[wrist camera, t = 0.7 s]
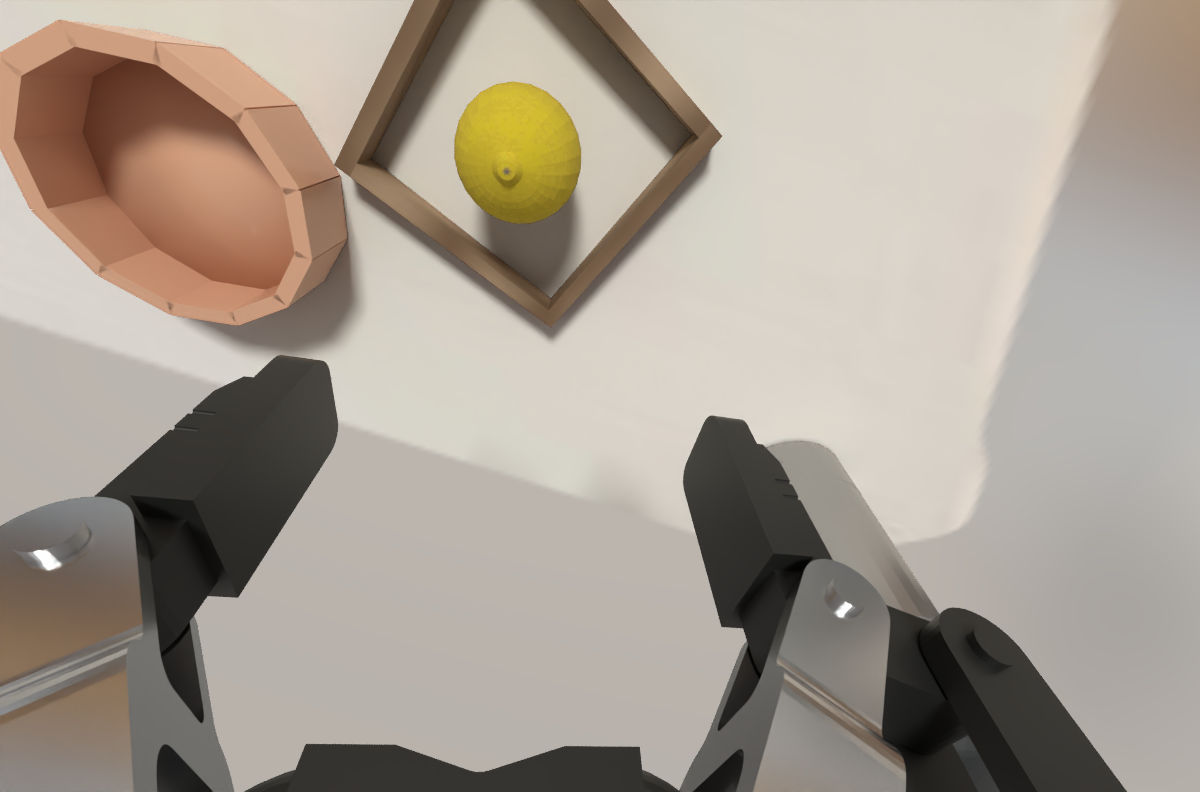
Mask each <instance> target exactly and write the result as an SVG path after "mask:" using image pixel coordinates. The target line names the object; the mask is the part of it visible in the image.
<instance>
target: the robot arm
mask: <svg viewBox="0 0 1200 792" xmlns="http://www.w3.org/2000/svg"><path fill="white" fill-rule="evenodd" d="M337 432H338V419H337V413H336V407H335V401H334V395H333V389H332V383H331V377H330V371H329V368H328V365H327V364H326V363H325V362H324V361H320V360H313V359H306V358H299V357H291V356H284V355H279V356H277V357H275V358H274V359H273V360H272V361H270V362H269V363H268V364H267V365H266V366H265V367H264V368H263V369H262V370H261V371H260V372H259V373H258V374H257V375H256V376H255V377H254V378H252V377H245V376H244V377H242V378H240V379H238V380H236V381H234V382H232V383H229V384H227V385H225V386H223V387H221V388H219V389H217V390H215V391H213V392H212V393H211V394H210V395H209V396H208V397H207V398H205V399H204V400H203V401H202V402H201V403H200V404H199V405H197V406H196V407H195V408H194V409H193V413H192V414H187V415H186V416H185V417H184V418H183V419H182V420H180V421H179V422H178V423H177V424H176V425H175V429H174V430H169V431H168V432H167V433H166V434H165V435H163V436H162V437H161V438H160V439H159V440H158V441H157V442H156V443H154V444H153V445H152V446H151V447H150V448H149V449H148V450H146V451H145V452H144V453H143V454H142V455H141V456H140V457H139V458H137V459H136V460H135V461H134V462H133V463H132V464H131V465H130V466H128V467H127V468H126V469H125V470H124V471H123V472H122V473H120V474H119V475H118V476H117V477H116V478H115V479H114V480H113V481H111V482H110V483H109V484H108V485H107V486H106V487H105V488H103V489H102V490H101V491H100V492H99V493H98V494H97V495H95V496H94V497H81V498H74V499H68V500H64V501H59V502H55V503H52V504H48V505H45V506H42V507H39V508H37V509H34V510H31V511H29V512H26V513H24V514H22V515H20V516H18V517H16V518H14V519H12V520H10V521H8V522H7V523H5V524H3V525H1V526H0V792H234V788H233V784H232V779H231V776H230V772H229V769H228V765H227V762H226V759H225V756H224V754H223V751H222V749H221V746H220V744H219V741H218V738H217V734H216V730H215V726H214V721H213V715H212V709H211V703H210V697H209V691H208V685H207V679H206V673H205V667H204V662H203V655H202V649H201V643H200V637H199V631H198V625H197V622H196V619H195V617H194V615H195V613H196V612H197V610H198V609H199V607H200V606H201V605H202V603H203V602H204V600H205V599H206V598H207V596H219V597H239V595H240V594H241V592H242V591H243V589H244V587H245V586H246V584H247V583H248V581H249V579H250V578H251V576H252V575H253V573H254V572H255V570H256V568H257V567H258V566H259V564H260V562H261V561H262V559H263V558H264V556H265V555H266V553H267V551H268V550H269V548H270V546H271V545H272V543H273V542H274V540H275V539H276V537H277V536H278V534H279V532H280V531H281V529H282V528H283V526H284V525H285V523H286V522H287V520H288V518H289V517H290V515H291V514H292V512H293V511H294V509H295V507H296V506H297V504H298V503H299V501H300V500H301V498H302V497H303V495H304V493H305V492H306V490H307V489H308V487H309V485H310V484H311V482H312V481H313V479H314V478H315V476H316V474H317V473H318V471H319V470H320V468H321V467H322V465H323V463H324V462H325V460H326V459H327V457H328V456H329V454H330V453H331V451H332V449H333V447H334V444H335V441H336V437H337ZM683 485H684V491H685V495H686V499H687V502H688V506H689V510H690V513H691V517H692V521H693V524H694V528H695V532H696V535H697V539H698V543H699V546H700V549H701V554H702V557H703V561H704V564H705V568H706V572H707V575H708V579H709V583H710V586H711V590H712V593H713V597H714V601H715V605H716V608H717V612H718V616H719V619H720V623H721V627H732V628H743V629H744V632H745V635H746V638H747V641H746V643H745V644H744V645H743V647H742V649H741V651H740V653H739V656H738V659H737V661H736V664H735V666H734V669H733V671H732V674H731V677H730V679H729V682H728V684H727V687H726V689H725V692H724V695H723V697H722V700H721V702H720V705H719V707H718V710H717V713H716V715H715V718H714V720H713V723H712V726H711V728H710V731H709V733H708V735H707V737H706V740H705V742H704V744H703V745H702V747H701V749H700V751H699V752H698V754H697V756H696V757H695V759H694V761H693V763H692V765H691V766H690V768H689V770H688V773H687V774H686V777H685V779H684V781H683V783H682V786H681V788H680V790H679V791H678V790H677V789H676V788H674V787H673V786H671V785H670V784H669V783H667V782H665V781H664V780H662V779H660V778H658V777H656V776H654V775H653V774H651V773H649V772H646V771H643V770H642V765H641V756H640V747H588V746H585V747H583V746H564V747H561V748H558V749H555V750H552V751H548V752H546V753H542V754H539V755H536V756H533V757H530V758H527V759H524V760H521V761H517V762H514V763H512V764H508V765H505V766H502V767H499V768H496V769H493V770H489V771H485V772H473V771H469V770H466V769H464V768H460V767H458V766H455V765H452V764H449V763H446V762H443V761H441V760H437V759H435V758H432V757H429V756H426V755H423V754H420V753H417V752H415V751H412V750H409V749H406V748H403V747H400V746H397V745H356V744H355V745H354V744H353V745H352V744H351V745H350V744H348V745H347V744H306V745H305V747H304V750H303V752H302V755H301V758H300V760H299V762H298V765H297V768H296V770H293V771H290V772H287V773H284V774H281V775H279V776H276V777H274V778H272V779H269V780H267V781H264V782H262V783H260V784H258V785H256V786H254V787H252V788H250V789H248V790H246V791H245V792H1127V791H1126V790H1125V789H1124V787H1123V786H1122V785H1121V783H1120V782H1119V780H1118V779H1117V778H1116V776H1115V775H1114V774H1113V772H1112V771H1111V770H1110V768H1109V767H1108V766H1107V764H1106V763H1105V762H1104V760H1103V759H1102V757H1101V756H1100V755H1099V754H1098V752H1097V751H1096V749H1095V748H1094V747H1093V745H1092V744H1091V743H1090V742H1089V740H1088V739H1087V737H1086V736H1085V734H1084V733H1083V732H1082V730H1081V729H1080V728H1079V726H1078V725H1077V724H1076V722H1075V721H1074V720H1073V718H1072V717H1071V716H1070V714H1069V713H1068V712H1067V710H1066V709H1065V707H1064V706H1063V705H1062V703H1061V702H1060V701H1059V699H1058V698H1057V697H1056V695H1055V694H1054V693H1053V691H1052V690H1051V689H1050V687H1049V686H1048V685H1047V683H1046V682H1045V680H1044V679H1043V678H1042V676H1041V675H1040V674H1039V672H1038V671H1037V670H1036V668H1035V667H1034V666H1033V664H1032V663H1031V662H1030V660H1029V659H1028V657H1027V656H1026V655H1025V654H1024V652H1023V651H1022V650H1021V649H1020V647H1019V646H1018V645H1017V644H1016V643H1015V642H1014V641H1013V640H1012V639H1011V638H1010V637H1009V636H1008V635H1007V634H1006V633H1004V632H1003V631H1002V630H1001V629H1000V628H998V627H997V626H996V625H994V624H993V623H991V622H990V621H988V620H987V619H985V618H983V617H982V616H980V615H978V614H976V613H973V612H971V611H968V610H966V609H961V608H948V609H946V610H944V611H943V612H941V614H939V613H938V611H937V610H936V608H935V607H934V605H933V604H932V602H931V600H930V599H929V597H928V596H927V594H926V593H925V591H924V590H923V588H922V587H921V585H920V584H919V582H918V581H917V579H916V578H915V576H914V575H913V573H912V572H911V570H910V568H909V567H908V565H907V564H906V563H905V561H904V560H903V558H902V556H901V555H900V553H899V552H898V550H897V549H896V547H895V546H894V544H893V543H892V541H891V540H890V538H889V536H888V535H887V533H886V532H885V530H884V529H883V527H882V526H881V524H880V523H879V521H878V520H877V518H876V517H875V515H874V514H873V512H872V511H871V509H870V508H869V506H868V504H867V503H866V501H865V500H864V498H863V497H862V495H861V493H860V492H859V490H858V489H857V487H856V486H855V484H854V483H853V481H852V480H851V478H850V477H849V475H848V474H847V472H846V471H845V469H844V468H843V466H842V465H841V463H840V462H839V460H838V458H837V457H836V455H835V454H834V453H832V452H831V451H830V450H829V449H828V448H826V447H824V446H822V445H819V444H816V443H812V442H804V441H793V442H784V443H780V444H776V445H772V446H770V447H767V448H766V447H765V446H764V445H761V444H757V443H756V441H755V439H754V437H753V435H752V433H751V431H750V429H749V427H748V425H747V424H746V422H745V421H743V420H740V419H733V418H725V417H718V416H709V417H708V418H707V419H706V420H705V422H704V424H703V426H702V429H701V431H700V433H699V435H698V438H697V440H696V442H695V445H694V447H693V449H692V451H691V454H690V456H689V458H688V460H687V463H686V466H685V470H684V477H683Z"/></svg>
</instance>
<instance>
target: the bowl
mask: <svg viewBox="0 0 1200 792" xmlns="http://www.w3.org/2000/svg"><path fill="white" fill-rule="evenodd" d="M0 150H1V152H2V154H3V156H4V158H5V160H6V162H7V164H8V166H9V168H10V170H11V172H12V174H13V176H14V178H15V180H16V182H17V184H18V186H19V188H20V190H21V192H22V194H23V196H24V198H25V200H26V202H27V204H28V206H29V208H30V209H33V210H31V211H32V212H33V213H34V214H35V215H36V216H37V217H38V218H39V219H40V220H41V221H42V222H43V223H44V224H45V225H46V226H47V227H49V228H50V229H51V230H52V231H53V232H54V233H55V234H56V235H57V236H58V237H59V238H60V239H61V240H62V241H63V242H64V243H65V244H66V245H67V246H68V247H69V248H70V249H71V250H72V251H73V252H74V253H75V254H76V255H77V256H78V257H79V258H80V259H81V260H82V261H83V262H84V263H85V264H86V265H87V266H88V267H89V268H90V269H91V270H92V271H93V272H94V273H95V274H96V275H97V274H98V276H99V277H101V278H103V279H105V280H107V281H109V282H110V283H112V284H114V285H116V286H118V287H120V288H122V289H123V290H125V291H127V292H129V293H131V294H133V295H135V296H136V297H138V298H140V299H142V300H144V301H146V302H147V303H149V304H151V305H153V306H155V307H157V308H159V309H160V310H162V311H164V312H166V313H168V314H171V315H173V316H180V317H186V318H192V319H198V320H205V321H211V322H217V323H223V324H230V325H236V326H237V325H238V326H239V325H241V324H244V323H247V322H250V321H252V320H255V319H258V318H260V317H263V316H266V315H269V314H271V313H274V312H277V311H279V310H282V309H285V308H288V307H289V306H290V305H292V304H293V303H294V302H296V301H297V300H299V299H300V298H301V297H303V296H304V295H305V294H307V293H308V292H310V291H311V290H312V289H314V288H315V287H316V286H318V285H319V284H320V283H322V282H323V281H324V280H325V279H326V277H327V275H328V274H329V272H330V270H331V268H332V266H333V264H334V263H335V261H336V259H337V257H338V255H339V253H340V252H341V250H342V248H343V246H344V244H345V242H346V241H347V238H348V237H347V228H346V220H345V211H344V203H343V195H342V186H341V178H340V176H339V173H338V171H337V170H336V168H335V166H334V165H333V163H332V161H331V160H330V158H329V157H328V155H327V153H326V152H325V150H324V148H323V147H322V145H321V143H320V142H319V140H318V139H317V137H316V135H315V134H314V132H313V130H312V129H311V127H310V125H309V124H308V122H307V121H306V119H305V117H304V116H303V114H302V112H301V111H300V109H299V107H298V106H296V104H295V103H294V102H292V101H291V100H290V99H289V98H287V97H286V96H285V95H283V94H282V93H281V92H280V91H278V90H277V89H276V88H274V87H273V86H272V85H271V84H269V83H268V82H267V81H265V80H264V79H263V78H262V77H260V76H259V75H258V74H256V73H255V72H254V71H253V70H251V69H250V68H249V67H247V66H246V65H245V64H244V63H242V62H241V61H240V60H238V59H237V58H236V57H235V56H233V55H232V54H231V53H229V52H228V51H227V50H226V49H223V48H221V47H216V46H212V45H208V44H203V43H199V42H195V41H190V40H186V39H182V38H177V37H173V36H169V35H164V34H160V33H156V32H151V31H147V30H140V29H132V28H124V27H116V26H108V25H99V24H91V23H83V22H75V21H67V20H57V21H55V22H54V23H52V24H50V25H48V26H47V27H45V28H43V29H41V30H39V31H38V32H36V33H34V34H32V35H31V36H29V37H27V38H25V39H23V40H22V41H20V42H18V43H16V44H14V45H13V46H11V47H9V48H7V49H6V50H4V51H2V52H0Z"/></svg>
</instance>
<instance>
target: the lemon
mask: <svg viewBox="0 0 1200 792" xmlns="http://www.w3.org/2000/svg"><path fill="white" fill-rule="evenodd" d="M454 157H455V162H456V166H457V171H458V175H459V177H460V179H461V181H462V183H463V185H464V187H465V190H466V191H467V192H468V194H469V195H470V196H471V198H472V199H473V200H474V202H475V203H476V204H477V205H479V206H480V207H481V208H482V209H483V210H484V211H485V212H487V213H488V214H490V215H492V216H494V217H496V218H498V219H500V220H503V221H507V222H511V223H533V222H537V221H540V220H544V219H546V218H547V217H549V216H551V215H552V214H554V213H556V212H557V211H558V210H559V209H560V208H561V207H562V206H563V205H564V204H565V203H566V202H567V201H568V200H569V198H570V196H571V194H572V192H573V190H574V189H575V187H576V184H577V181H578V177H579V173H580V170H581V148H580V143H579V137H578V133H577V131H576V129H575V126H574V124H573V122H572V119H571V117H570V116H569V115H568V113H567V112H566V110H565V109H564V108H563V106H562V105H561V104H560V103H559V102H558V101H557V100H556V99H555V98H553V97H552V96H551V95H550V94H549V93H547V92H546V91H544V90H542V89H540V88H537V87H535V86H533V85H531V84H525V83H519V82H507V83H501V84H496V85H494V86H492V87H490V88H488V89H486V90H484V91H482V92H480V93H479V94H478V95H477V96H476V97H475V98H474V99H473V100H472V101H471V102H470V103H469V104H468V105H467V107H466V109H465V111H464V113H463V114H462V116H461V118H460V120H459V123H458V127H457V131H456V135H455V156H454Z"/></svg>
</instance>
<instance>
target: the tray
mask: <svg viewBox="0 0 1200 792" xmlns="http://www.w3.org/2000/svg"><path fill="white" fill-rule="evenodd" d="M453 2H454V0H414V2H413V4H412V6H411V8H410V10H409V12H408V14H407V16H406V18H405V20H404V23H403V25H402V27H401V29H400V31H399V33H398V35H397V37H396V39H395V41H394V43H393V45H392V47H391V49H390V51H389V53H388V55H387V57H386V60H385V62H384V64H383V66H382V68H381V70H380V72H379V74H378V76H377V78H376V80H375V82H374V84H373V86H372V88H371V90H370V92H369V94H368V97H367V99H366V101H365V103H364V105H363V107H362V109H361V111H360V113H359V115H358V117H357V119H356V121H355V123H354V125H353V127H352V129H351V131H350V134H349V136H348V138H347V140H346V142H345V144H344V146H343V148H342V150H341V152H340V154H339V156H338V158H337V160H336V162H335V164H334V165H335V166H336V167H338V168H339V169H340V170H342V171H343V172H344V173H346V174H347V175H348V176H350V177H351V178H352V179H354V180H355V181H356V182H358V183H359V184H360V185H362V186H363V187H364V188H366V189H367V190H368V191H370V192H371V193H372V194H374V195H375V196H376V197H378V198H379V199H380V200H382V201H383V202H384V203H386V204H387V205H388V206H390V207H391V208H392V209H394V210H395V211H396V212H398V213H399V214H400V215H402V216H403V217H404V218H406V219H407V220H408V221H410V222H411V223H412V224H414V225H415V226H416V227H418V228H419V229H420V230H422V231H423V232H424V233H426V234H427V235H428V236H430V237H431V238H432V239H434V240H435V241H436V242H438V243H439V244H440V245H442V246H443V247H444V248H446V249H447V250H448V251H450V252H451V253H452V254H454V255H455V256H456V257H458V258H459V259H460V260H462V261H463V262H464V263H466V264H467V265H468V266H470V267H471V268H472V269H474V270H475V271H476V272H478V273H479V274H480V275H482V276H483V277H484V278H486V279H487V280H488V281H490V282H491V283H492V284H494V285H495V286H496V287H498V288H499V289H500V290H502V291H503V292H504V293H506V294H507V295H508V296H510V297H511V298H512V299H514V300H515V301H516V302H518V303H519V304H520V305H521V306H523V307H524V308H525V309H527V310H528V311H529V312H531V313H532V314H533V315H535V316H536V317H537V318H539V319H540V320H541V321H543V322H544V323H545V324H547V325H548V326H549V327H552V326H553V325H554V324H555V322H556V321H557V320H558V319H559V318H560V317H561V316H562V315H563V313H564V312H565V311H566V310H567V309H568V308H569V307H570V306H571V305H572V303H573V302H574V301H575V300H576V299H577V298H578V297H579V296H580V295H581V293H582V292H583V291H584V290H585V289H586V288H587V287H588V286H589V284H590V283H591V282H592V281H593V280H594V279H595V278H596V277H597V276H598V274H599V273H600V272H601V271H602V270H603V269H604V268H605V267H606V266H607V264H608V263H609V262H610V261H611V260H612V259H613V258H614V257H615V255H616V254H617V253H618V252H619V251H620V250H621V249H622V248H623V247H624V245H625V244H626V243H627V242H628V241H629V240H630V239H631V238H632V236H633V235H634V234H635V233H636V232H637V231H638V230H639V229H640V228H641V226H642V225H643V224H644V223H645V222H646V221H647V220H648V219H649V218H650V216H651V215H652V214H653V213H654V212H655V211H656V210H657V209H658V207H659V206H660V205H661V204H662V203H663V202H664V201H665V200H666V199H667V197H668V196H669V195H670V194H671V193H672V192H673V191H674V190H675V189H676V187H677V186H678V185H679V184H680V183H681V182H682V181H683V180H684V178H685V177H686V176H687V175H688V174H689V173H690V172H691V171H692V170H693V168H694V167H695V166H696V165H697V164H698V163H699V162H700V161H701V160H702V158H703V157H704V156H705V155H706V154H707V153H708V152H709V151H710V149H711V148H712V147H713V146H714V145H715V144H716V143H717V142H718V141H719V139H720V138H721V137H722V135H721V134H720V133H719V132H718V130H717V129H716V128H715V127H714V126H713V125H712V123H711V122H710V121H709V120H708V119H707V117H706V116H705V115H704V114H703V113H702V112H701V110H700V109H699V108H698V107H697V106H696V104H695V103H694V102H693V101H692V100H691V99H690V97H689V96H688V95H687V94H686V93H685V91H684V90H683V89H682V88H681V87H680V85H679V84H678V83H677V82H676V81H675V80H674V78H673V77H672V76H671V75H670V74H669V72H668V71H667V70H666V69H665V68H664V67H663V65H662V64H661V63H660V62H659V61H658V59H657V58H656V57H655V56H654V55H653V54H652V52H651V51H650V50H649V49H648V48H647V46H646V45H645V44H644V43H643V42H642V41H641V39H640V38H639V37H638V36H637V35H636V33H635V32H634V31H633V30H632V29H631V27H630V26H629V25H628V24H627V23H626V22H625V20H624V19H623V18H622V17H621V16H620V14H619V13H618V12H617V11H616V10H615V9H614V7H613V6H612V5H611V4H610V3H609V1H608V0H575V2H576V3H577V4H578V5H579V6H580V7H581V8H582V10H583V11H584V12H585V13H586V14H587V15H588V16H589V17H590V19H591V20H592V21H593V22H594V23H595V24H596V25H597V27H598V28H599V29H600V30H601V31H602V32H603V33H604V35H605V36H606V37H607V38H608V39H609V40H610V41H611V43H612V44H613V45H614V46H615V47H616V48H617V49H618V51H619V52H620V53H621V54H622V55H623V56H624V57H625V58H626V60H627V61H628V62H629V63H630V64H631V65H632V66H633V68H634V69H635V70H636V71H637V72H638V73H639V74H640V76H641V77H642V78H643V79H644V80H645V81H646V82H647V84H648V85H649V86H650V87H651V88H652V89H653V90H654V92H655V93H656V94H657V95H658V96H659V97H660V98H661V100H662V101H663V102H664V103H665V104H666V105H667V106H668V107H669V109H670V110H671V111H672V112H673V113H674V114H675V115H676V117H677V118H678V119H679V120H680V121H681V122H682V123H683V125H684V126H685V127H686V128H687V129H688V130H689V131H690V133H691V134H692V135H691V137H690V138H689V139H688V140H687V141H686V142H685V144H684V145H683V146H682V147H681V148H680V149H679V151H678V152H677V153H676V154H675V155H674V156H673V158H672V159H671V160H670V161H669V162H668V163H667V164H666V166H665V167H664V168H663V169H662V170H661V171H660V173H659V174H658V175H657V176H656V177H655V178H654V180H653V181H652V182H651V183H650V184H649V185H648V187H647V188H646V189H645V190H644V191H643V192H642V193H641V195H640V196H639V197H638V198H637V199H636V200H635V202H634V203H633V204H632V205H631V206H630V207H629V209H628V210H627V211H626V212H625V213H624V214H623V216H622V217H621V218H620V219H619V220H618V221H617V223H616V224H615V225H614V226H613V227H612V228H611V229H610V231H609V232H608V233H607V234H606V235H605V236H604V238H603V239H602V240H601V241H600V242H599V243H598V245H597V246H596V247H595V248H594V249H593V250H592V252H591V253H590V254H589V255H588V256H587V257H586V258H585V260H584V261H583V262H582V263H581V264H580V265H579V267H578V268H577V269H576V270H575V271H574V272H573V274H572V275H571V276H570V277H569V278H568V279H567V281H566V282H565V283H564V284H563V285H562V286H561V287H560V289H559V290H558V291H557V292H556V293H555V294H554V296H553V297H552V298H551V299H550V298H549V297H548V296H547V295H545V294H544V293H543V292H542V291H540V290H539V289H538V288H536V287H535V286H534V285H533V284H531V283H530V282H529V281H527V280H526V279H525V278H524V277H522V276H521V275H520V274H519V273H517V272H516V271H515V270H513V269H512V268H511V267H510V266H508V265H507V264H506V263H504V262H503V261H502V260H501V259H499V258H498V257H497V256H495V255H494V254H493V253H492V252H490V251H489V250H488V249H487V248H485V247H484V246H483V245H481V244H480V243H479V242H478V241H476V240H475V239H474V238H472V237H471V236H470V235H469V234H467V233H466V232H465V231H464V230H462V229H461V228H460V227H458V226H457V225H456V224H455V223H453V222H452V221H451V220H449V219H448V218H447V217H446V216H444V215H443V214H442V213H441V212H439V211H438V210H437V209H435V208H434V207H433V206H432V205H430V204H429V203H428V202H426V201H425V200H424V199H423V198H421V197H420V196H419V195H417V194H416V193H415V192H414V191H412V190H411V189H410V188H409V187H407V186H406V185H405V184H403V183H402V182H401V181H400V180H398V179H397V178H396V177H394V176H393V175H392V174H391V173H389V172H388V171H387V170H386V169H384V168H383V167H382V166H380V165H379V164H378V163H377V162H375V161H374V160H373V159H371V158H372V156H373V154H374V152H375V150H376V149H377V147H378V145H379V143H380V141H381V139H382V137H383V135H384V133H385V131H386V129H387V128H388V126H389V124H390V122H391V120H392V118H393V116H394V114H395V112H396V110H397V108H398V107H399V105H400V103H401V101H402V99H403V97H404V95H405V93H406V91H407V89H408V88H409V86H410V84H411V82H412V80H413V78H414V76H415V74H416V72H417V70H418V68H419V67H420V65H421V63H422V61H423V59H424V57H425V55H426V53H427V51H428V49H429V47H430V46H431V44H432V42H433V40H434V38H435V36H436V34H437V32H438V30H439V28H440V27H441V25H442V23H443V21H444V19H445V17H446V15H447V13H448V11H449V9H450V7H451V6H452V4H453Z"/></svg>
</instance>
